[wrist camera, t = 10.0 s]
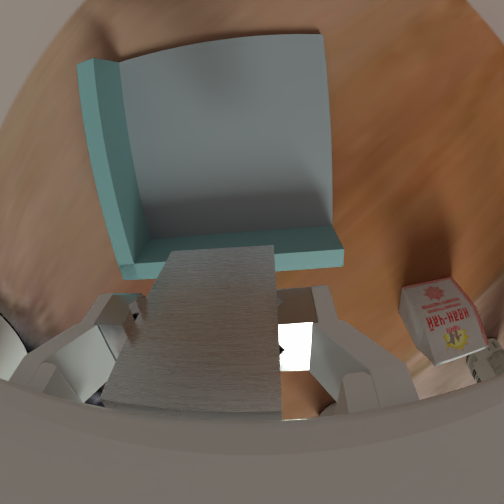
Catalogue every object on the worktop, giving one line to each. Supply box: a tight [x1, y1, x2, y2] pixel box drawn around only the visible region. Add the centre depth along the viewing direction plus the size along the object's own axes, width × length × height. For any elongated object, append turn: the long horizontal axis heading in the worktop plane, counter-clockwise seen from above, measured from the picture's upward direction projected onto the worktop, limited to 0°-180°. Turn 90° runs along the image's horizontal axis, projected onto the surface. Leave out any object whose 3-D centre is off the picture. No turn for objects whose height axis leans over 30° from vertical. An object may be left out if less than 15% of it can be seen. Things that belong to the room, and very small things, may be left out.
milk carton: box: [399, 276, 490, 366], centre depth 26 cm, size 4×7×10 cm, turn 101°
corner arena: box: [77, 34, 344, 280], centre depth 21 cm, size 18×18×5 cm
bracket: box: [100, 245, 282, 421], centre depth 10 cm, size 6×4×7 cm, turn 5°
